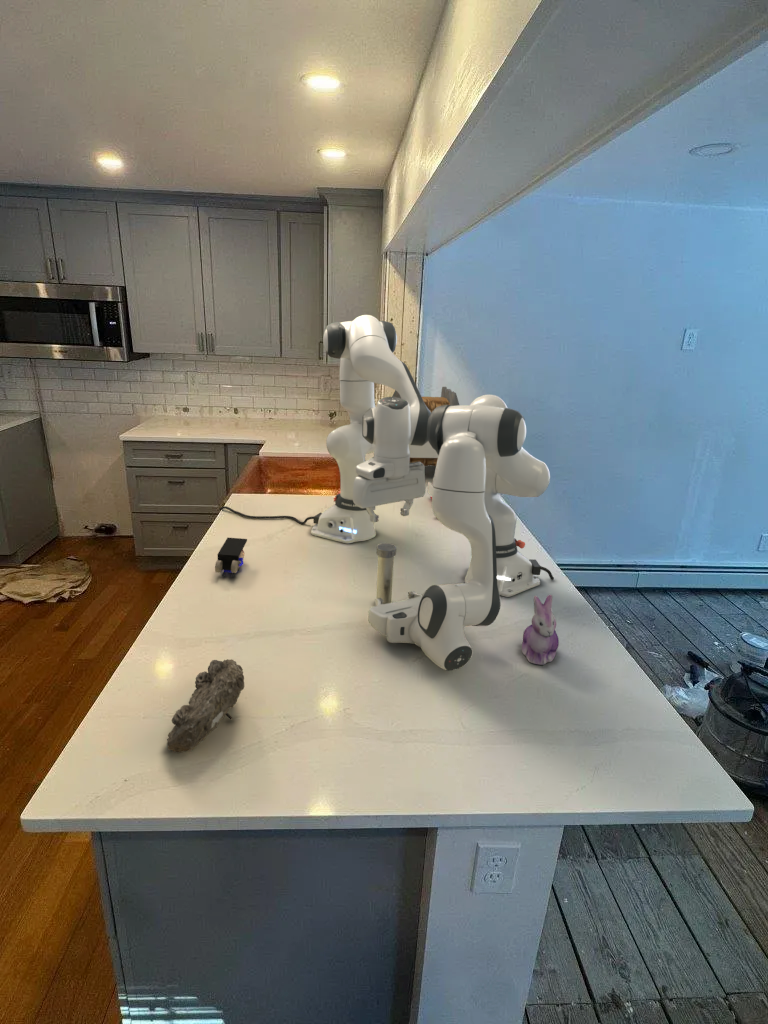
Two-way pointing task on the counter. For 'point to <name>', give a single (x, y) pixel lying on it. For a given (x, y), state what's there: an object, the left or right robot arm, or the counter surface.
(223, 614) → the counter surface
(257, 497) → the counter surface
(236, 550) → the figurine character
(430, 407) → the transformer
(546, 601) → the figurine
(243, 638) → the counter surface
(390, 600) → the beige cylinder
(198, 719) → the fossil
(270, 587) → the counter surface
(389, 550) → the lid
